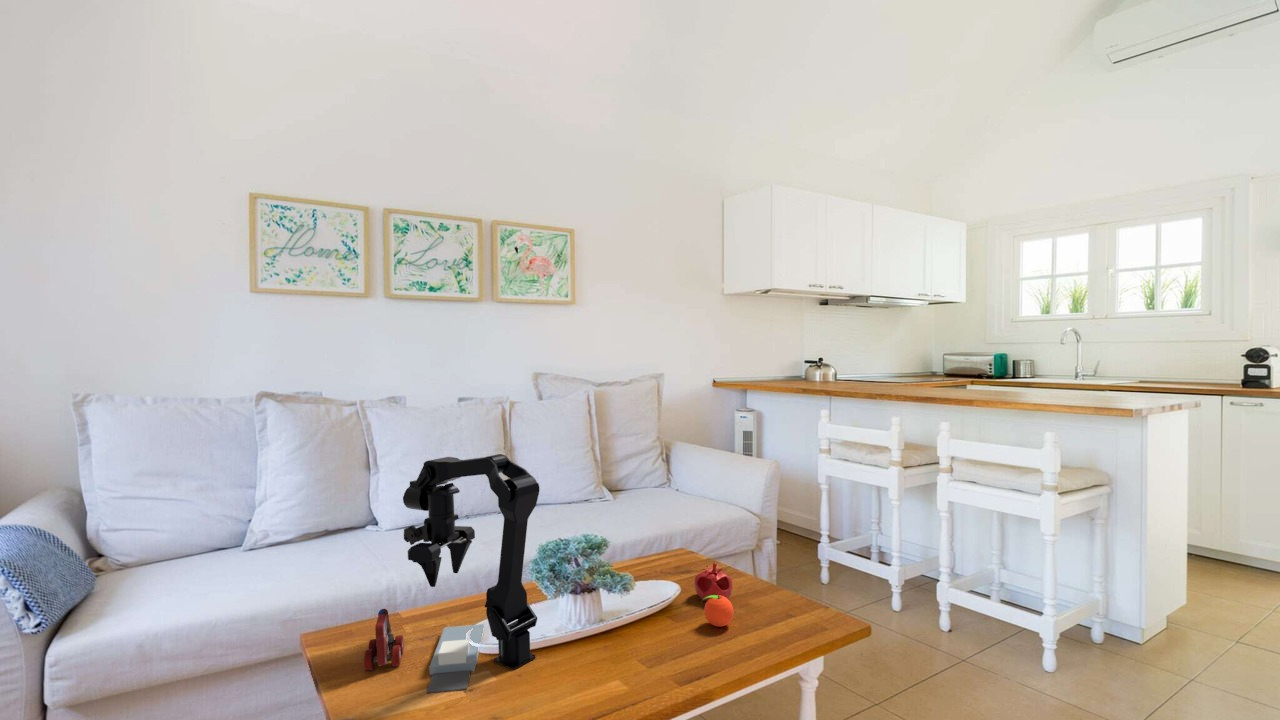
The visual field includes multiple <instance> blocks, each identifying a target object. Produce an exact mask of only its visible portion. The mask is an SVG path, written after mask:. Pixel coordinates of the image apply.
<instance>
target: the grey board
mask: <svg viewBox="0 0 1280 720" xmlns="http://www.w3.org/2000/svg"><path fill="white" fill-rule="evenodd" d="M472 628H473V630H472V631H471V634H470V636H471V637H470V639H471V640H472V641H473V642H475V643H478V644H479V643H480V642H481V637H482V633H483V628H484V629H485V624H484V623H482V624H470V625H458V626H456V625H455V626H445V627H444V628H443V630H442V632H441V635H440V637H439V641H438V643H437V646H436V649H435V650H434V651H435V652H434V654H433V657H432V659H431V663H430V665H429V667H428V668H429V675H430V676H432V675H433V674H436V673H447V672H458V671H469V670H471V672H474V671H476V668H477V663H478V658H479V653H480V650H479V651H478V647H475V646H472V645H471V644H470V643H469V654H468V658H467V661H466V663H457V664H446V665H439V658H438V653H439V650H440V648H441V645H442V642H443V641H455V640H466V633H467V632H468V631H469V630H471V629H472ZM483 634H484V633H483ZM482 638H483V637H482ZM481 643H482V642H481Z"/></svg>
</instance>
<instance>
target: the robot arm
mask: <svg viewBox="0 0 1280 720" xmlns="http://www.w3.org/2000/svg"><path fill="white" fill-rule="evenodd" d="M500 473H501V474H503V476H505V477H507V479H503V478H502V477H501V476H500ZM482 475H485V476H486V477H487V478H488V483H489V488H490V490H491V491H492V492H493V493H494V494H495V496H496V497H497V500H498V501H497V502H498V503H497V505H498V508H499V510H500V513H501V515H502V517H503V525H502V526H503V529H502V538H501V547H500V548H501V550H500V557H499V567H498V577H497V583H496V585H493V586H490V587H489V588H487V590H486V594H485V597H486V600H485V604H484V608H486V611H485V612H486V618H487V621H488V626H489V629H490V633H491V636H492V637H493V638H496V641H497V642H498V643H497V644H498V656H497V657H494V659H493V662H494V663H496V664H499V665H501V666H504V667H506V668H509V669H510V670H516V669H518V668H520V667H522V666H523V665H526V664H527V663H529V662H530V661H533V660H535V659H536V657H537V655H536V654H534V653H531V637H530V636H531V634H530V633H531V632H530V631H529V629H531V628H534V627H536V625H537V621H538V616H537V614H536V613H535V612H534V610H533V609H532V608H531V606H530V604H529V602H528V593H527V590H526V587H524V585H523V583H522V579H523V569H524V559H525V550H526V541H527V530H528V523H529V522H528V521H529V518H530V516H531V514H532V513H533V511H534V509H535V508H536V506H537V502H538V498H539V494H540V485H539V482H537V480H536V478H535V477H534V476H533V475H531V474H530V473H529V472H528V470H526V469H525V468H524V467H522V466H520V465H519V464H517V463H515V462H513V461H512V460H511V459H510V458H509V457H508V456H507V455H505V454H502V453H498V454H493V455H492V454H491V455H488V456H481V457H474V458H468V459H467V458H466V459H460V458H458V457H455V456H454V457H453V456H446V457H440V458H435V459H431V460H430V459H429V460H426V461H424V462H423V466H422V468H421V469H420V473H419V474H418V477H417V479H415V480H411V481H409V486H408V487H407V488H406V490H405V491H404V493H403V496H402V502H403V504H404V505H403V506H405V507H406V508H407V509H411V510H415V511H416V510H418V511H424V512H425V511H426V512H427V511H428V517H426V518H425V519H424V520H423V525H420V526H418V527H416V526H415V525H411V526H408V527H405V528H404V529H403V540H404V541H405V542H406V543H409V544H410V545H411V546H410V548H409V549H408V550H407V559H408V561H412V562H413V563H415V564H418V566H420V567H421V568H422V571H423V572H424V575H425V578H426V579H427V582H428V584H429V586H430V587H431V588H435V587H436V585H437V581H438V577H439V571H440V567H441V561H442V556H441V553H442V548H444V547H447V548H448V550H449V555H450V559H451V560H450V561H451V562H450V563H451V568H452V573H453V574H458V573H459V571H460V568H461V566H462V564H463V561H464V559H465V557H466V555H467V552H468V550H469V548H470V545H471V544H472V543H473V540H474V539H475V538H476V536H475V534H476V533H475V529H474V528H473V526H464V525H463V526H462V525H456V521H457V520H458V519H459V514H456V513H455V503H454V502H455V500H454V499H455V498H454V497H455V496H454V495H456V494H458V493H461V492H460V491H461V490H460V489H459V488H458V487H457V486H455V484H454V483H453V481H456V480H457V479H460V478H465V477H473V476H482ZM451 481H452V482H451ZM448 482H450V483H448ZM420 541H423V542H420ZM417 542H418V543H417Z"/></svg>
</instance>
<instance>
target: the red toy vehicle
mask: <svg viewBox="0 0 1280 720" xmlns="http://www.w3.org/2000/svg"><path fill="white" fill-rule="evenodd" d="M377 615H378V617H377V619H376V623H375V627H374V628H375V629H374V630H375V638H374V639H370V640H369V642H368V649H366V650H365V652H364V659H363V661H364V665H363V666H364V671H372V670H373V669H374V667H375V662H376V663H377V666H378V667H381V666H382V667H383V666H386V665H387V663H388V660H391V665H392V667H393V668H394V667H395V668H396V667H399V666H400V665H401V659H402V655H403V654H404V649H405V648H404V645H405V644H404V636H403V635H402V634H401V635H400V634H399V635H396V636H395V637H394V634H393V633H392V631H393V627H392V625H391V623H390V616H389V611H388V609H386V608H381V609H380V610H378V614H377ZM389 653H390V654H389Z"/></svg>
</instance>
